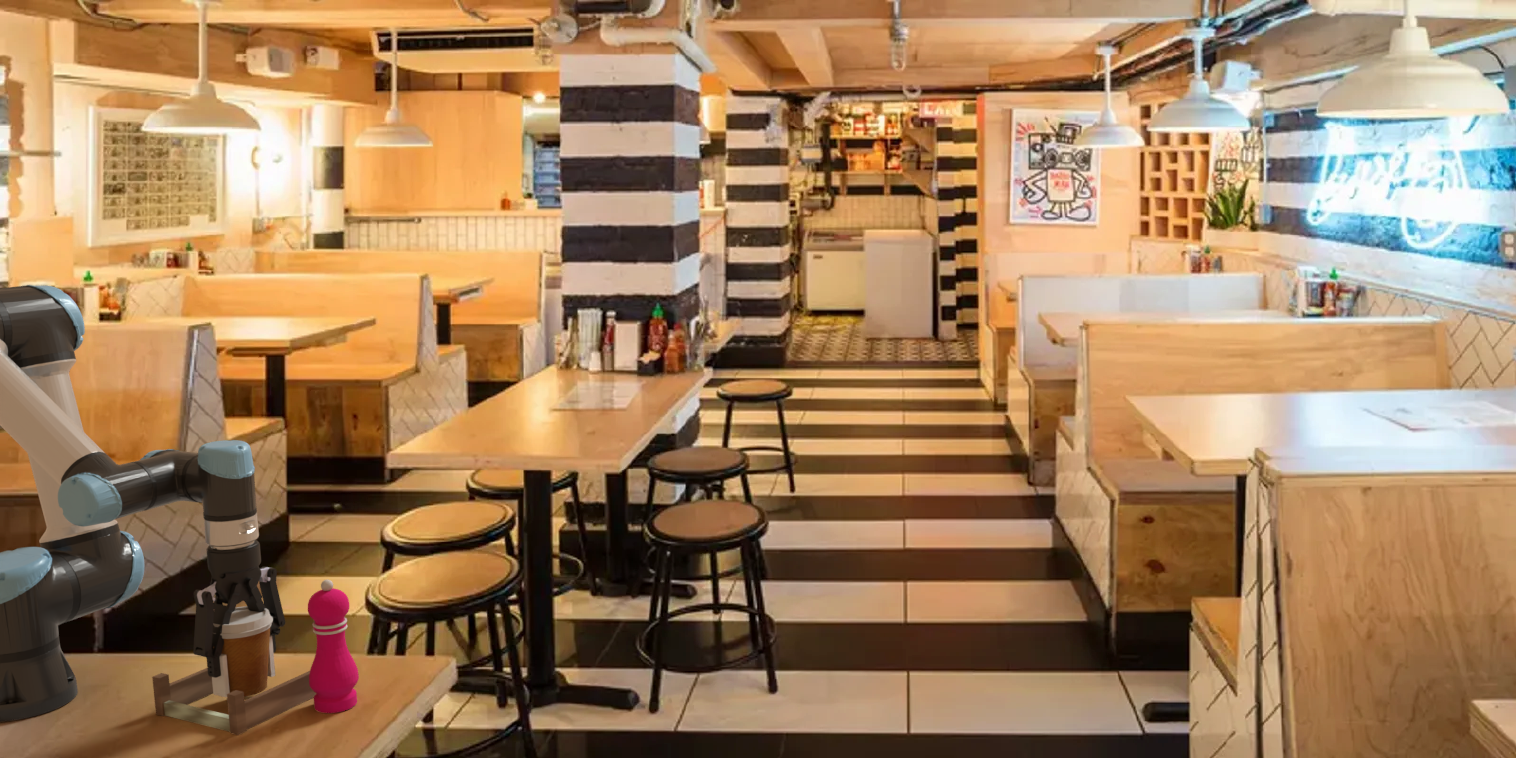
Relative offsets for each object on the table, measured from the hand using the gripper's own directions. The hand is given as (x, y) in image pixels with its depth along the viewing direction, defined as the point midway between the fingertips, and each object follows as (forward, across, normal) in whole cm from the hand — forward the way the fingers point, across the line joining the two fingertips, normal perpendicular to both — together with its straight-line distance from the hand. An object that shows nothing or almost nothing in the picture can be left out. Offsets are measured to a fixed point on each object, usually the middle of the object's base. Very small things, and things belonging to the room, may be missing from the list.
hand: (244, 684), depth 195 cm
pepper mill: (+3, +5, -14) cm, 15 cm away
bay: (+3, +1, 0) cm, 3 cm away
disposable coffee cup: (+1, 0, 0) cm, 1 cm away
